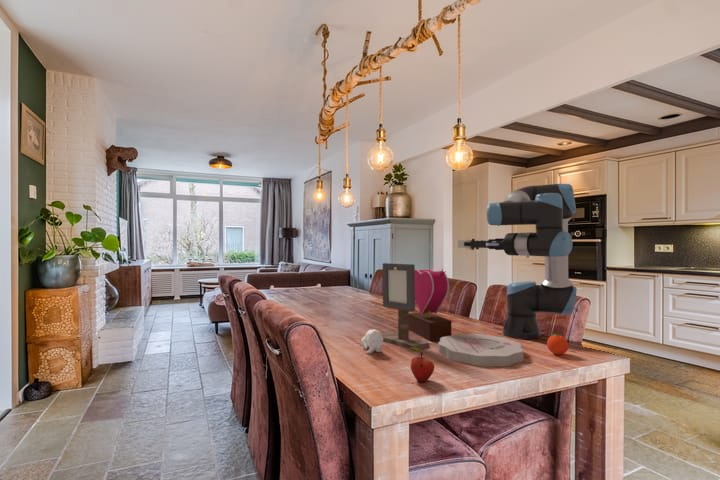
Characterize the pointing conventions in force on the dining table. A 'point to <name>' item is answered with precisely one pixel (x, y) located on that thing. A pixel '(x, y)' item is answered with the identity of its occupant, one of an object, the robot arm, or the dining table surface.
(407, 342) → the display stand
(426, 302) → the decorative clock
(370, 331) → the white animal figurine
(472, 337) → the decorative plaque
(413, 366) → the apple
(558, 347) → the clementine
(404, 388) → the dining table surface
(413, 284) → the picture frame
